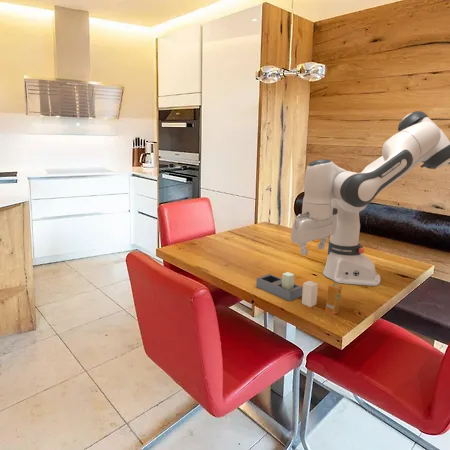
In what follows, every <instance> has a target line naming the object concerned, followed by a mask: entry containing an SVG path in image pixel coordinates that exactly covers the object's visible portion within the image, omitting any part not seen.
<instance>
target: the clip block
mask: <svg viewBox="0 0 450 450" xmlns="http://www.w3.org/2000/svg"><path fill="white" fill-rule="evenodd" d="M302 287H303V290H302V296H301V304H303V305H304V306H307V307H309V308H311V307H312V308H313V306H316V305H317V303H318V302H317V301H318V289H319V288H318V287H319V283H317V282H315V281H311V280H307V281H305V282H303V283H302Z"/></svg>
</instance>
